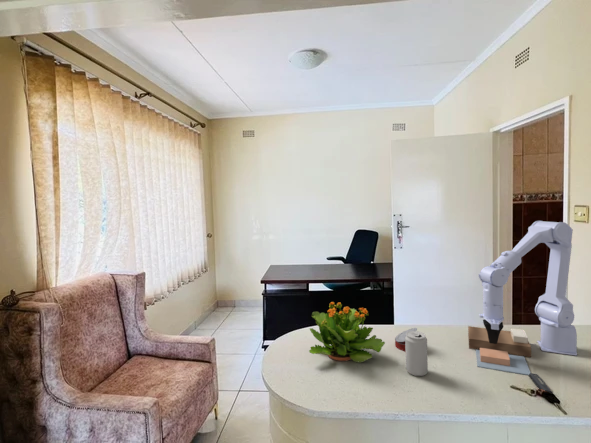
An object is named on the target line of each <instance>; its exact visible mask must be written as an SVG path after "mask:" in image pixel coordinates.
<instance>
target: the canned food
mask: <svg viewBox="0 0 591 443" xmlns="http://www.w3.org/2000/svg"><path fill="white" fill-rule="evenodd" d="M410 331H418V327H413V328H412V327H411V328H409V329H406V330H404V331H402V332H400V333H398V335H396V337H394V340H395V342H394V344H395V348H396V349H398V350H400V351H402V352H405V337H406V333H407V332H410Z"/></svg>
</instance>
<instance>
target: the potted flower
mask: <svg viewBox="0 0 591 443" xmlns="http://www.w3.org/2000/svg"><path fill="white" fill-rule="evenodd" d="M328 307H329V309H328V310H327V313H325V312H319V311H313V312H312V313H311V317H312V319H314V320H315V324H316V325H317V326H318V330H319V331H317V330H316V329H314V328H312V327H310V328H309V331H310V332H311V334H312V335H313V337H314V338H315V339H316V340H317V341H318V342H320V343H322V344H323V346H322V345H319V344H314V345H313V346H310V350H308V352H309V353H311V354H313V355H324V356H325V355H326V356H328V358H329V359H332V360H334V361H341V362H343V361H344V362H345V361H346V362H347V361H351V360H352V362H354V363H363V362H365V361H368V360H369V359H371V358H373V354H372V353H370V351H367V350H373V351H374V352H377V353H380V352H381V350H382V349H383V347H384V345H385V344H386V342H385V341H383V339H382V338H377V335H375V334H374V335H372V336H371V335H370V334H371V333H372V332H373V329H374V327H370V326H369V327H368V328H367V326H366V325H364V321H365V320H366V317H367V316H369V311H368V310H367V308H364V307H359V308H358V311H357V309H355V308H350V307H349V306H344V307H343V304H342V303H341V302H337V303H336V304H335V302H334V301H331V302H330V303H329V306H328ZM342 307H343V309H341V308H342ZM337 308H338V309H339V312H338V311H337ZM360 324H361V327H360ZM369 336H371V337H369ZM368 337H369V338H368Z"/></svg>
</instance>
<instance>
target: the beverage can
mask: <svg viewBox="0 0 591 443" xmlns="http://www.w3.org/2000/svg"><path fill="white" fill-rule="evenodd" d="M404 352H405V370H406V371H407V372H408V373H409V374H410V375H412V376H415V377H423V376H425V375H426V374H428V370H429V369H428V368H429V366H428V365H429V364H428V363H429V362H428V359H429V358H428V339H427V336H426V334H425V332H421V331H418V330H417V331H410V332H407V333H406V337H405V351H404Z"/></svg>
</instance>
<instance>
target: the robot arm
mask: <svg viewBox="0 0 591 443" xmlns="http://www.w3.org/2000/svg"><path fill="white" fill-rule="evenodd" d="M527 230H528V231H527V232H526V234H525V235H524V236H523V237H522V238H521V239H520V240H519V242H518V243H517V244H516V245H515V246H514V247H513V249H511V250H505V251H502V252H501V253H500V256H498V257H497V258H496V259H495V260H494V261H493V262H491V264H490V265H487V266H484V267H483V268H482V269H481V270H480V272H479V274H478V279H479V280H480V281H481V286H482V313H478V317H479V318H480V319H481V318H482V321H483V322H482V323H483V326H484V328H486V330H487V334H488V339H489V343H492V344H497V342H498V338H499V334H500V332H501V330H503V328H504V324H503V323H504V322H503V321H504V320H505V318H504V286H505V285H506V284H507V282H508V280H509V277H511V276H510V275H511V273H512V272H513V271H515V270H516V269H517V267H518V266H520V265H521V264H522V257H524V256H525V255H526V254H527V253H529V252H530V251H531V250H532V249H534V248H535V247H537V246H538V245H539V244H541V243H542V244H545V245H546V246H547V247H548V248H549V249H550V252H549V259H548V260H549V261H548V268H547V278H546V284H545V286H546V287H545V292H544V293H543V294H542V295H540V296H539V297H538V300H537V303H536V304H535V307H534V313H535V315H536V316H537V317H538V320H539V321H540V340H536V343H537V344H538V346H539V348H540V349H541V351H542V352H547V353H554V354H563V355H570V356H578V353H577V350H578V349H577V348H578V347H577V344H578V341H577V340H578V339H577V337H578V333H577V329H576V326H575V325H573V322H574V321H575V313H574V304H573V303H572V302H571V301H570V300H569V299H568V297H567V289H568V288H567V286H568V282H569V281H568V280H569V273H570V264H571V255H572V249H573V248H572V247H573V246H572V245H573V244H572V239H573V231H574V230H573V228H572V227H571V226H570V225H569V224H568V223H566V222H563V221H559V222H557V221H543V220H535V221H534V222H533V223H532V224H531V225H530V226H528V228H527Z"/></svg>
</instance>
